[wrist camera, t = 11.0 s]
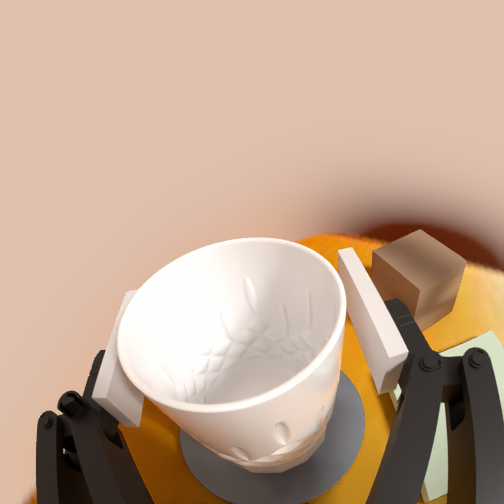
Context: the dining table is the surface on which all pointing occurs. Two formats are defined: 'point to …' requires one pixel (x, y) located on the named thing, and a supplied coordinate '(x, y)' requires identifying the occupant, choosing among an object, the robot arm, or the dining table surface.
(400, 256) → the walnut block
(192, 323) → the white cup
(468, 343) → the green mat
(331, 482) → the slate coaster
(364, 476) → the dining table surface
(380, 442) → the dining table surface
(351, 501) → the dining table surface
